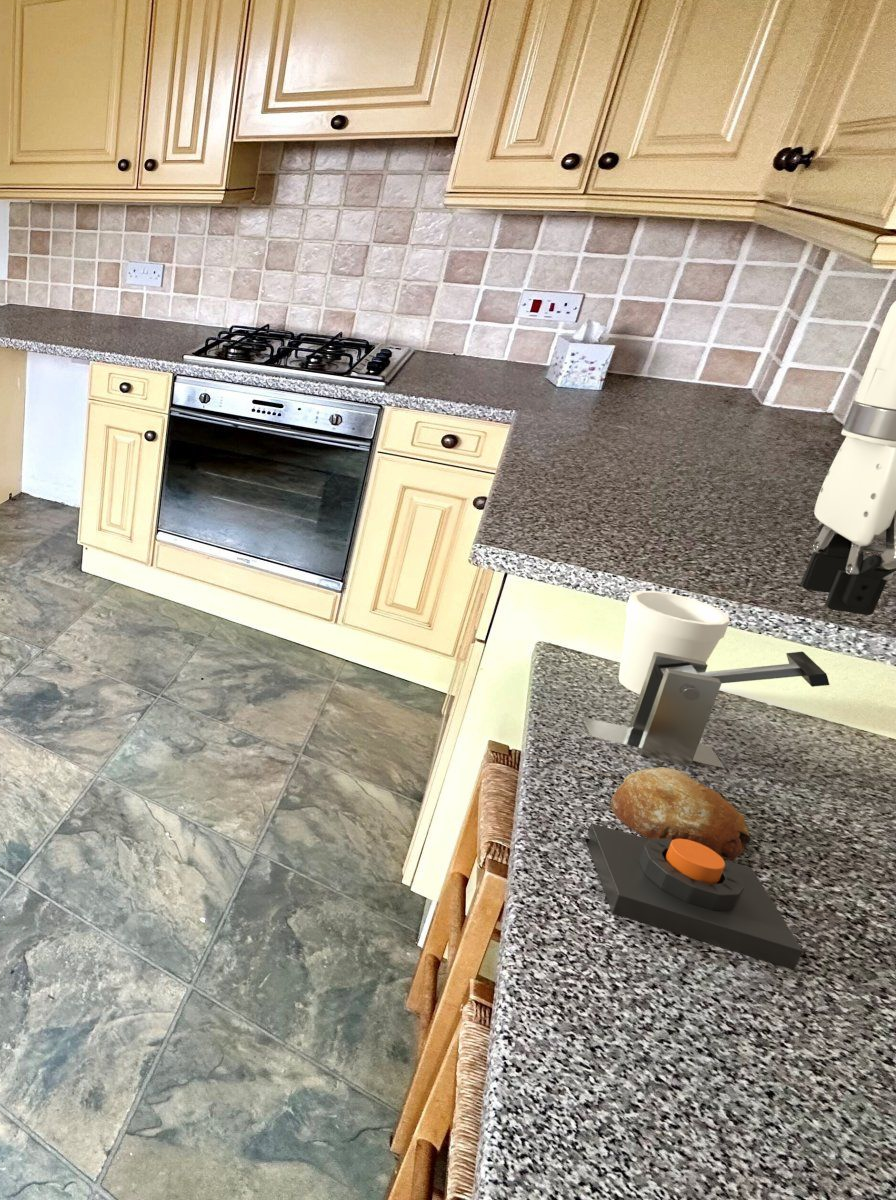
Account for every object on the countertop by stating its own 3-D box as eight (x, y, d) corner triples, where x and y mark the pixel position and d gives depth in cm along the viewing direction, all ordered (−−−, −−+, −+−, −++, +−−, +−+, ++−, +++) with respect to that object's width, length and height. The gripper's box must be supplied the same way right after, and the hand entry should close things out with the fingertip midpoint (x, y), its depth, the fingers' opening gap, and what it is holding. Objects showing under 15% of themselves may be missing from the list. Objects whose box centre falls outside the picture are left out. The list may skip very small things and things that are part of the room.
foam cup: (601, 667, 109) (627, 584, 105) (689, 689, 104) (720, 603, 100) (606, 698, 102) (635, 610, 98) (701, 724, 97) (736, 632, 93)
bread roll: (626, 817, 86) (604, 749, 86) (757, 830, 79) (733, 754, 79) (615, 866, 80) (592, 791, 80) (757, 884, 72) (731, 802, 72)
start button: (710, 862, 71) (716, 847, 70) (726, 890, 68) (732, 874, 67) (659, 848, 73) (665, 833, 72) (672, 874, 69) (678, 859, 69)
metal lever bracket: (706, 756, 91) (742, 661, 87) (737, 804, 83) (779, 702, 79) (579, 726, 96) (607, 635, 92) (597, 769, 89) (629, 671, 85)
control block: (744, 885, 73) (758, 852, 72) (794, 971, 64) (811, 934, 63) (584, 840, 78) (595, 808, 77) (611, 913, 70) (624, 878, 68)
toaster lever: (807, 666, 83) (801, 646, 83) (831, 690, 79) (825, 668, 79) (661, 680, 89) (655, 662, 89) (676, 703, 85) (670, 683, 85)
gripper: (1030, 453, 64) (940, 647, 70) (909, 413, 78) (842, 577, 84) (901, 441, 68) (824, 627, 73) (807, 405, 82) (749, 563, 87)
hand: (834, 599), depth 79 cm, fingers open, 4 cm apart
